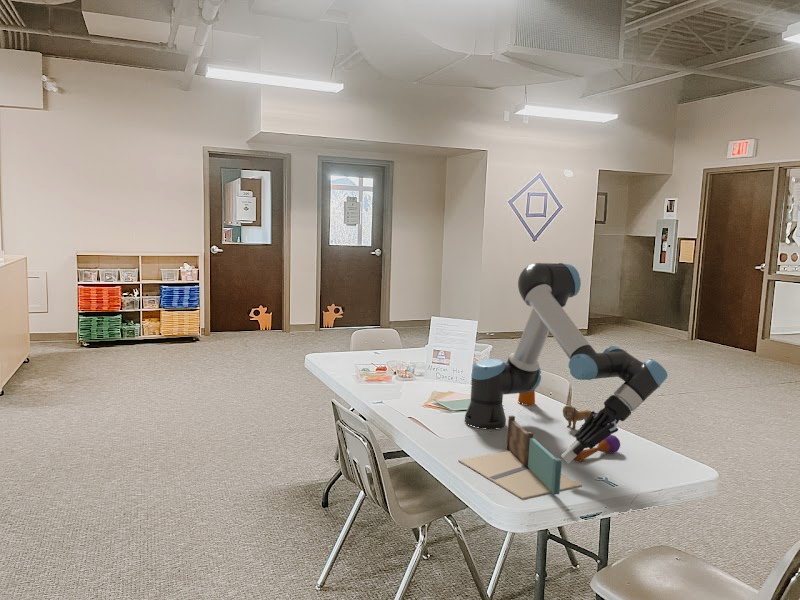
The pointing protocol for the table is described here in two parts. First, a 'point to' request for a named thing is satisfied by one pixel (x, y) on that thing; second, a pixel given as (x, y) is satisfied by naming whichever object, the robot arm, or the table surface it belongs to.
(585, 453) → the purple and orange maraca
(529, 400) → the spray bottle
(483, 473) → the mat
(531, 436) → the fence frame
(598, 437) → the robot arm
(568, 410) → the lion figurine
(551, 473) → the fence gate
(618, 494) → the table surface
